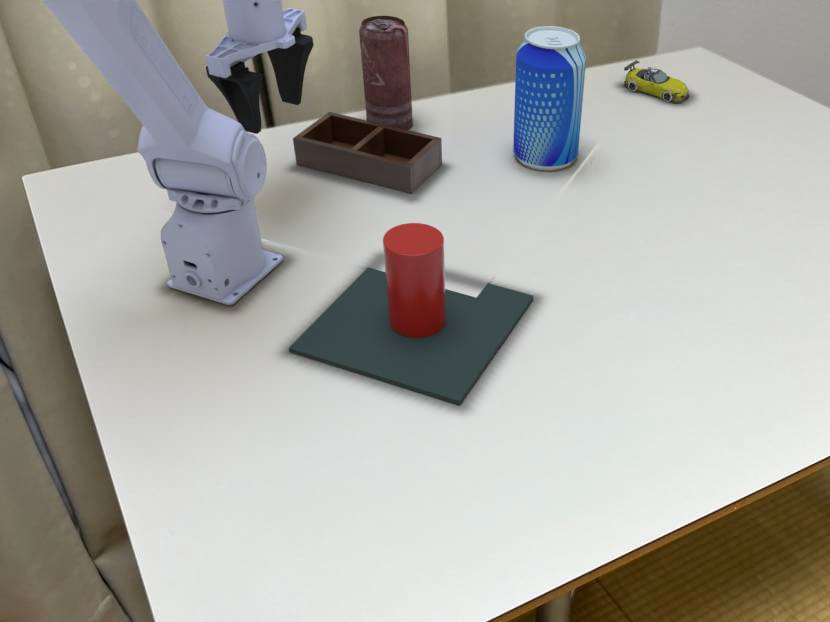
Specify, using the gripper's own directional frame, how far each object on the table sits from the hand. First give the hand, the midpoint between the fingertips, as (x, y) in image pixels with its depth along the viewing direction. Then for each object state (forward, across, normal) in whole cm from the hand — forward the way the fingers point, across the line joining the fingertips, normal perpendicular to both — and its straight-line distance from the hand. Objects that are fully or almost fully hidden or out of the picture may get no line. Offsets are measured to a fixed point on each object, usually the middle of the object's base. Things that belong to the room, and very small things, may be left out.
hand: (272, 116), depth 98 cm
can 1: (+11, +22, -2) cm, 25 cm away
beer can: (+11, +23, -24) cm, 35 cm away
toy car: (+12, +52, -30) cm, 61 cm away
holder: (+11, +11, -5) cm, 16 cm away
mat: (+10, -15, -25) cm, 31 cm away
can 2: (+10, -14, -25) cm, 31 cm away
